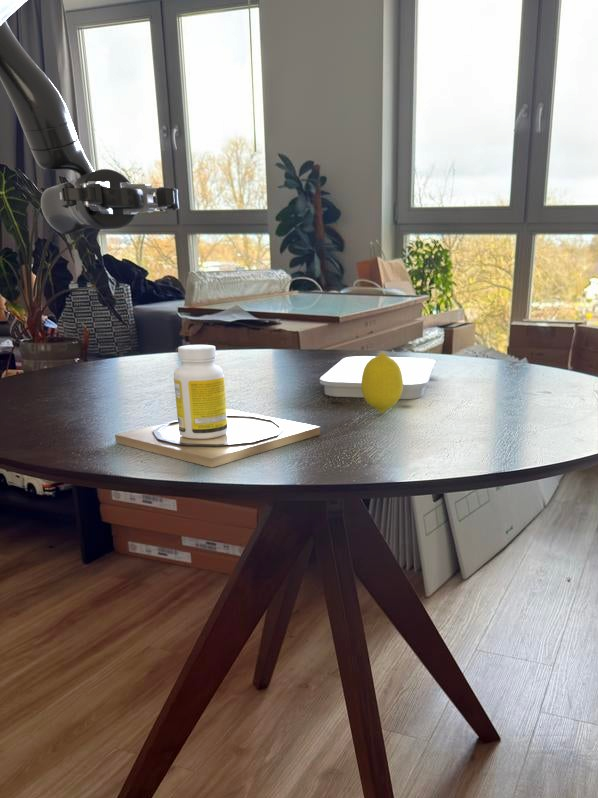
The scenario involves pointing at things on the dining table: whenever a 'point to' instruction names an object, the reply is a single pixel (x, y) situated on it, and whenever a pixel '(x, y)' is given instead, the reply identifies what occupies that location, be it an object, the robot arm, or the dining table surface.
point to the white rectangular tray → (350, 369)
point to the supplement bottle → (200, 393)
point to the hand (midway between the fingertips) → (134, 194)
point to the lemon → (382, 382)
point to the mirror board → (220, 439)
